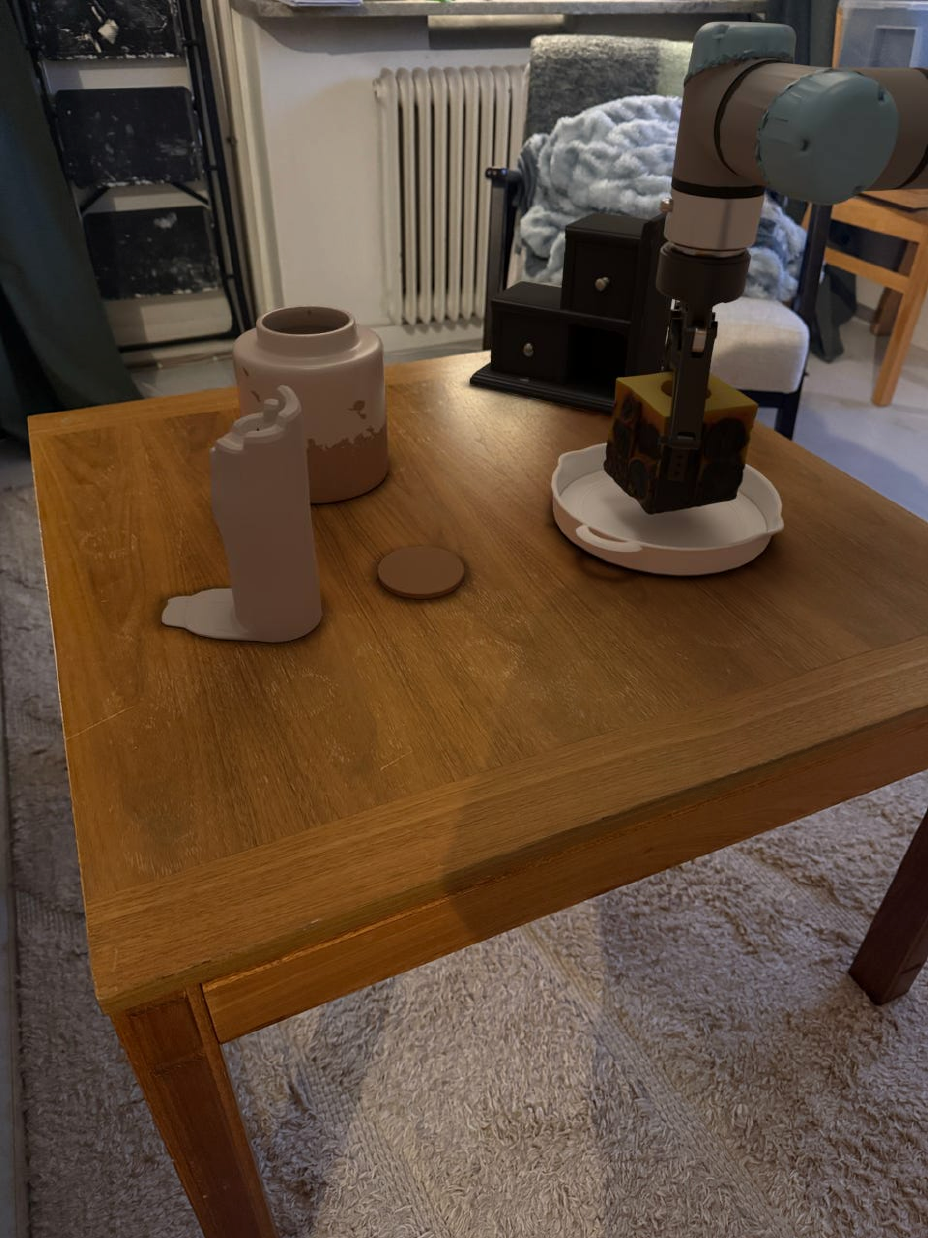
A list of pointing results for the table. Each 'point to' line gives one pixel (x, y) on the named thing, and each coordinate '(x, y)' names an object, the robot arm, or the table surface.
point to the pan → (661, 521)
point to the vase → (322, 392)
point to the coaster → (420, 572)
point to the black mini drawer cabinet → (584, 318)
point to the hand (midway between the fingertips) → (665, 473)
